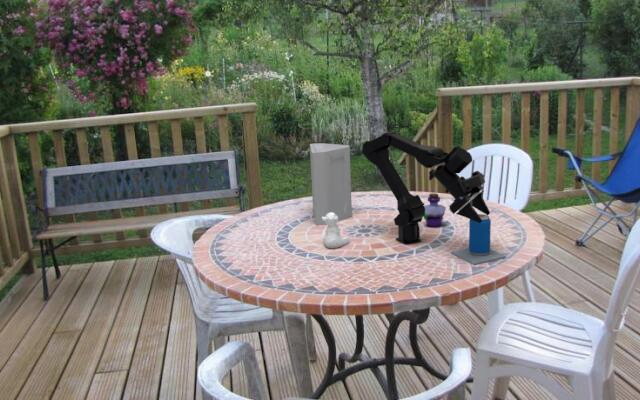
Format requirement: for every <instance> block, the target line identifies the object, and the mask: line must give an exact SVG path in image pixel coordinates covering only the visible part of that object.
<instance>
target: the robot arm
mask: <svg viewBox="0 0 640 400" xmlns="http://www.w3.org/2000/svg"><path fill="white" fill-rule="evenodd" d="M391 147H393V148H395V149H396V150H399V151H401V152H403V153H405V154H407V155H410V156H411V157H413V158H415V160H416V162H417V163H419V164H420V165H422V166H423V167H424V168H426V169H430V168H435V167H436V168H435V169H431V170H430V171H429V172H428V174H429V176H428V180H429V181H432V180H433V179H436V180H437V181H438V182H439V183H440V184H441V186H443V187H444V189H445V190H444V193H446V194H448V193H449V194H450V195H451V196H452V197H453V199H454V200H453V202H452V203H450V204H449V211H450V212H451V213H452V214H453V215H454V214H456V216H457V215H459V216H462V217H464V218H467V219H469V220H470V219H471V220H473V221H476V222H478V223H481V222H482V219H481V218H480V216H479V215H478V214H479V213H478V212H477V211H476V209H477V210H478V211H480V213H481V212H482V213H483V214H484V215H488V216H489V215H490V214H491V211H490V209H489V208H488V206H487V204H486V202H485V199H484V197H483V196H484V191H485V190H483V189H484V187H483V185H484V183H485V184H486V181H485V178H484V177H485V174H483V173H482V172H480V171H478V170H476V171H473V172H472V173H471V176H470V177H468V178H465V177H464V176H462V175H461V176H459V174H461V172H462V171H463V170H465V168H467V167H468V166H469V165H470V164H471V163H472V162H473V156H472V154H471V153H470V152H469V151H467V150H466V149H464V148H462V147H460V145H455V146H454V147H453V148H452V149H451V151H450V152H446V151H444V150H443V149H442V148H441V147H436V146H433V145H425V144H421V143H419V142H416V141H415V140H413V139H410V138H408V137H406V136H404V135H401V134H399V133H398V132H397V131H388V132H384V133H382V134H381V135H380V136H378V137H375V138H374V139H371V140H367V141H365V142H363V145H362V149H361V151H362V154H363V155H364V157H365V158H366V159H367V161H368V162H370V163H371V164H373V165H374V166H376V167H377V168H378V172H380V174H381V175H382V178H383V179H384V181H385V182H386V184H387V186H388V187H389V189H390V191H391V192H392V194H393V195H394V197H395V199H396V201H397V204H396V205H397V211H398V214H397V216H395V217H394V219H393V221H394V225H395V226H397V233H398V235H397V236H398V237H396V238H395V241H398V242H400V243H402V244H404V245H409V244H414V243H415V244H416V243H420V242H422V239H420V230H421V228H420V226H419V223H422V220H423V218H424V217H423V216H424V215H425V207H424V206H425V205H426V204H425V203H424V202H423V201H422V199H421V197H420V196H419V195H418V194H415V195H414V194H412V193H410V191H409V190H408V188H407V186H406V184H405V183H404V181H403V179H402V178H401V176H400V174H399V173H398V172H397V169H396V168H395V166H394V165H393V163H392V162H391V159H390V150H389V149H390V148H391ZM443 164H444V165H443Z"/></svg>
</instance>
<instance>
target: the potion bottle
mask: <svg viewBox="0 0 640 400" xmlns="http://www.w3.org/2000/svg"><path fill="white" fill-rule="evenodd" d="M440 201H441V197H440V196H439V194H438V193H429V195H428V197H427V202H428V203H429V204H425V205H423V206H424V207H425V215H424V216H423V218H424V220H425V224H426V227H428V228H431V229H432V228H433V229H437V228H441V227H442V223H443V219H444V215H445V212H446V208H447V207H446V206H444V205H442V204H439V202H440Z"/></svg>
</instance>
